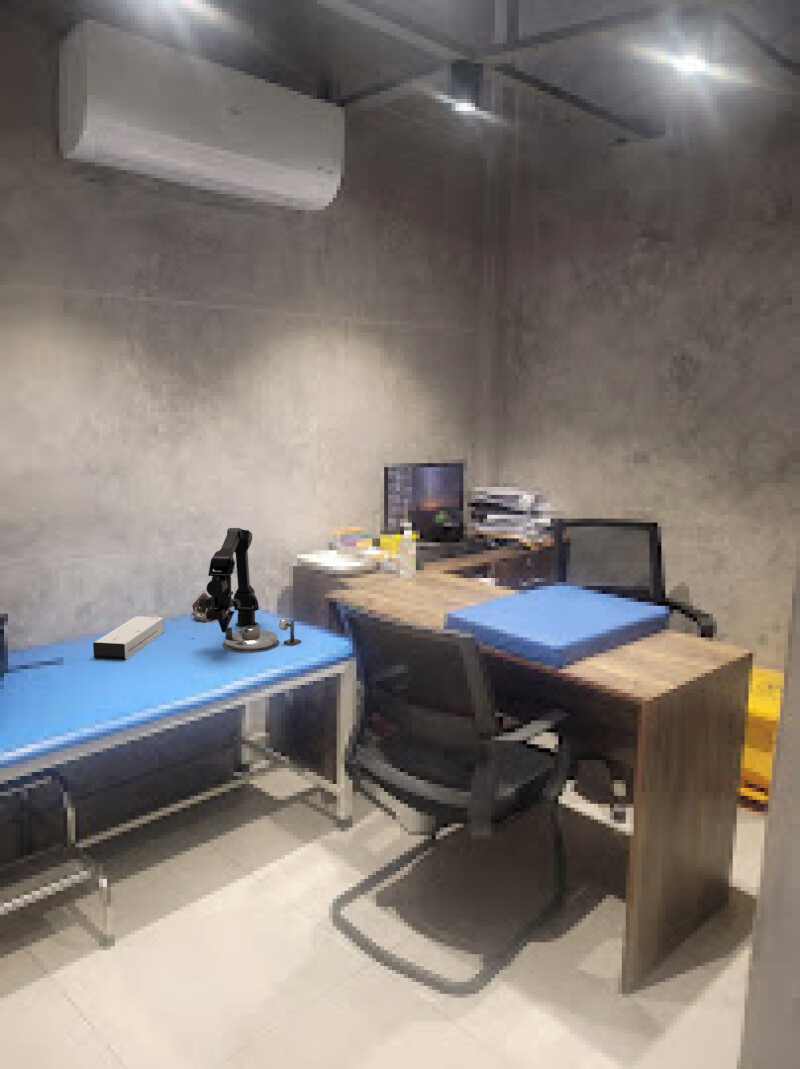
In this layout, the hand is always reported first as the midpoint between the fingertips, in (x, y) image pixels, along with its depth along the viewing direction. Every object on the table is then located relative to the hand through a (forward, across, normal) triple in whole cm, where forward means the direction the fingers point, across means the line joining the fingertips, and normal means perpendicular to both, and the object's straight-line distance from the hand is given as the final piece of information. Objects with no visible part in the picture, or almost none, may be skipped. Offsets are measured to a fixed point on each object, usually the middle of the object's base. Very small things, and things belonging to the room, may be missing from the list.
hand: (224, 632), depth 292 cm
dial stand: (+6, -12, +22) cm, 26 cm away
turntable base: (+6, -8, +7) cm, 13 cm away
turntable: (+6, -8, +7) cm, 13 cm away
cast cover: (+4, -8, +7) cm, 11 cm away
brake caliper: (+7, -36, -22) cm, 42 cm away
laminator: (+7, +2, -36) cm, 36 cm away
